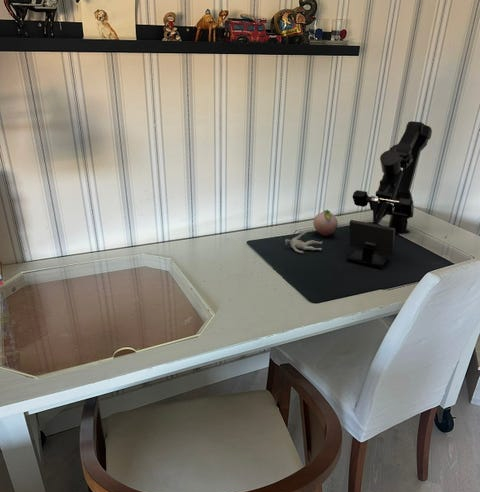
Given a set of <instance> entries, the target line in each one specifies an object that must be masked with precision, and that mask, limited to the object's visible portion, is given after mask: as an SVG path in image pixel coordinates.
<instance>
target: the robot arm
mask: <svg viewBox="0 0 480 492" xmlns="http://www.w3.org/2000/svg"><path fill="white" fill-rule="evenodd" d="M432 133H433V130H432V127H431V126H430V125H427V124H425V123H424V122H422V121H414V120H413V121H408V122H407V124H406V126H405V130H404V132H403V134H402V136H401V137H400V140H399V142H398V143H396V144H394V145H392V146H391V147H390V148H389V149H388V150H386V151H384V152H382V154H380V157H379V160H380V167H381V172H382V173H383V175H382V177H381V179H380V180H379V185H378V188H377V190H376V191H375V195H371V196H369V195H368V191H365V190H358V189H357V190H355V191H353V193H352V195H351V197H352V200H353V204H354V205H355V206H357V207H362V208H365V207H366V206H368V204H369V208H370V210H371V211H372V224H376V225H379V224H380V222H381V221H382V220H383V219H384V218H385V217H386V216H390V217H389V223H388V227H391V228H395V235H396V234H404V233H409V232H410V230H408V229H407V227H408V221H409V219H410V218H413V217H414V212H415V210H414V209H415V205H414V199H413V195H412V192H411V189H412V185H413V181H414V178H415V174H416V170H417V166H418V162H419V158H420V155H421V152H422V150H424V149H425V148H426V147H427V146H428V143H429V140H431V137H432Z"/></svg>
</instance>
